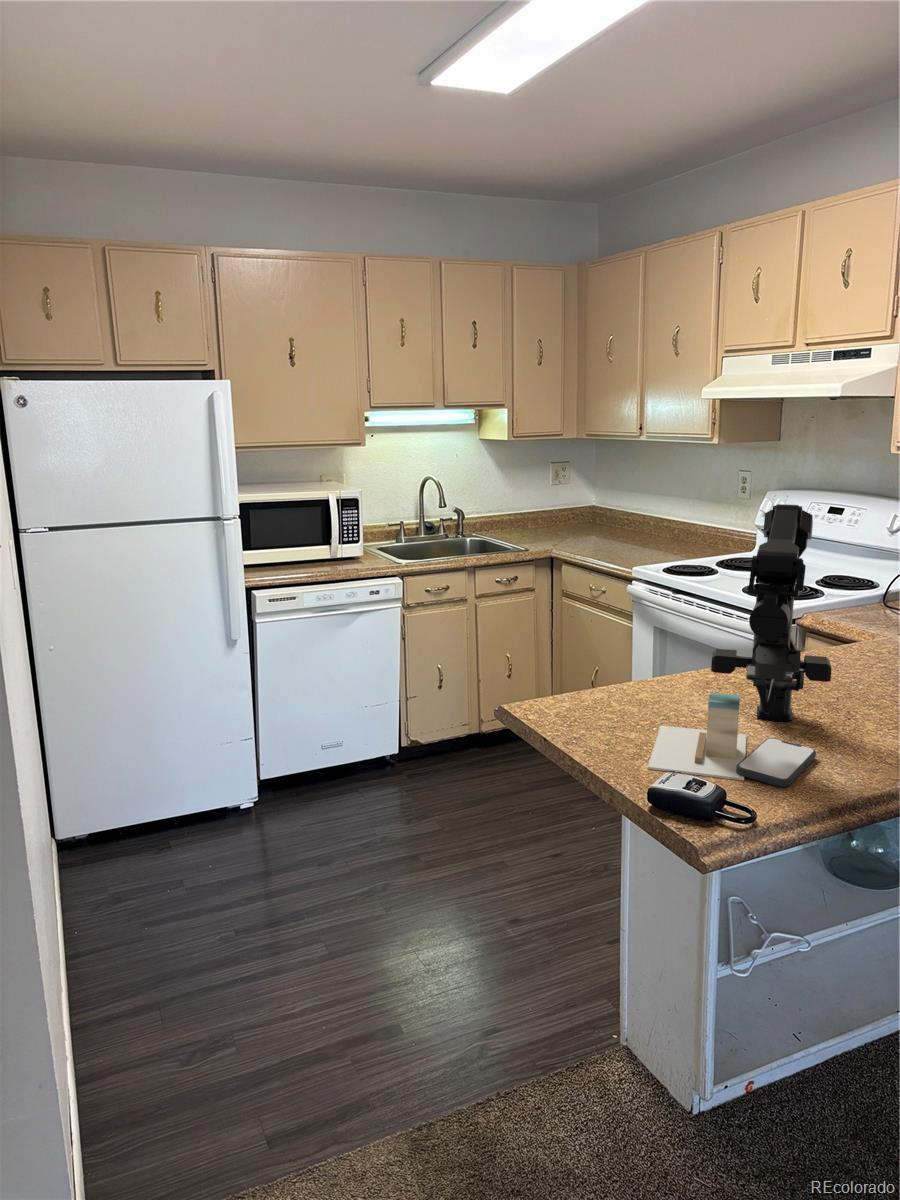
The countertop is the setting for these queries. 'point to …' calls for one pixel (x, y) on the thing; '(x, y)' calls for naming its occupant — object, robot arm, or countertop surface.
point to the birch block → (722, 725)
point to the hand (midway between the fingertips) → (766, 712)
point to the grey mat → (693, 754)
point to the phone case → (776, 762)
